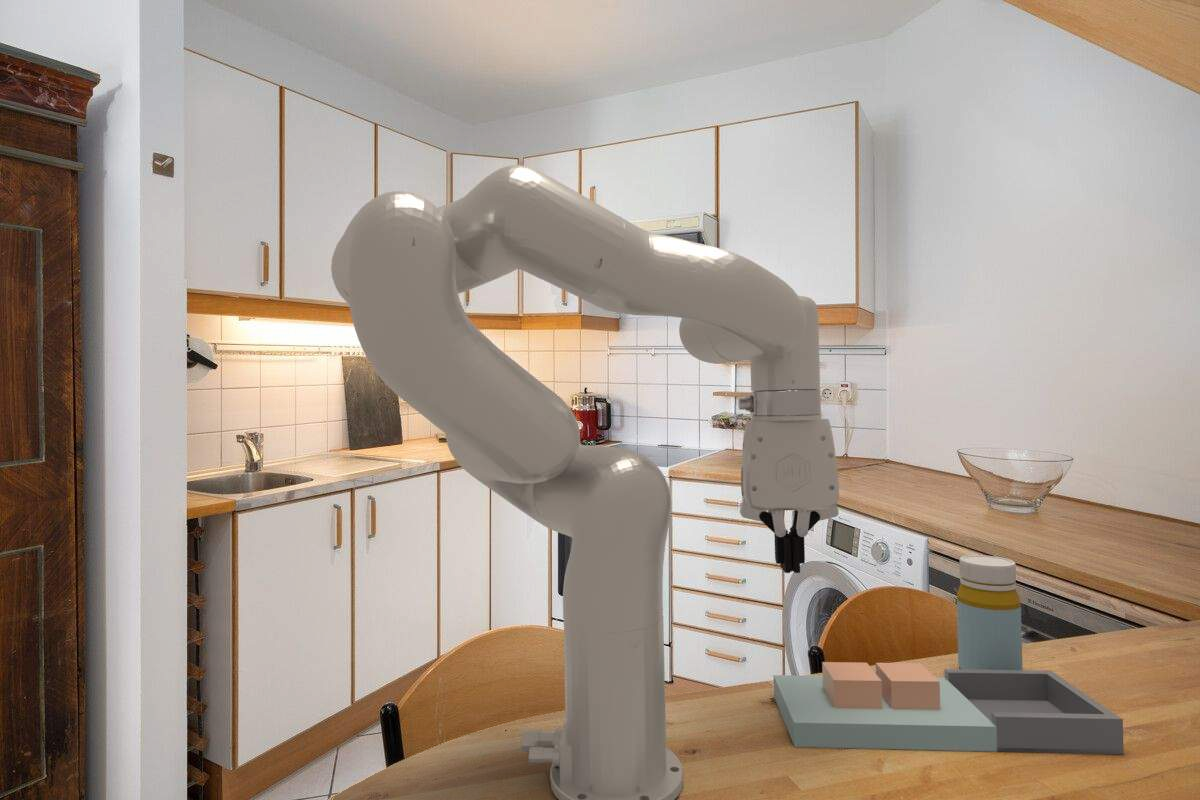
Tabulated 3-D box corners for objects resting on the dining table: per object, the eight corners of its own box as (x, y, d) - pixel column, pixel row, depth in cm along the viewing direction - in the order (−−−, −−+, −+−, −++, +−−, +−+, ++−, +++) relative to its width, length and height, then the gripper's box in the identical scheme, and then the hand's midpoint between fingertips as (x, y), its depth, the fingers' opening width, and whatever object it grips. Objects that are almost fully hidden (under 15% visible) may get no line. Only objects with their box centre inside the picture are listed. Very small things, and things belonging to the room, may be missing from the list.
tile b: (891, 709, 71) (891, 680, 71) (876, 688, 76) (875, 662, 76) (940, 709, 70) (939, 681, 70) (921, 689, 75) (920, 663, 75)
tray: (997, 751, 66) (996, 716, 66) (945, 698, 78) (944, 669, 78) (1123, 754, 65) (1122, 719, 65) (1051, 700, 77) (1050, 670, 77)
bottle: (1004, 668, 87) (1002, 554, 87) (1034, 691, 80) (1031, 567, 80) (949, 667, 88) (946, 554, 88) (973, 690, 81) (970, 567, 81)
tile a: (834, 707, 71) (833, 680, 71) (822, 688, 76) (822, 662, 76) (882, 708, 71) (881, 680, 71) (867, 688, 76) (866, 662, 76)
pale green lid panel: (794, 746, 68) (793, 722, 68) (773, 695, 80) (773, 675, 80) (997, 751, 66) (996, 726, 66) (945, 698, 78) (944, 677, 78)
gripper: (721, 409, 71) (726, 579, 71) (864, 405, 70) (869, 578, 70) (715, 408, 79) (719, 562, 79) (844, 405, 77) (848, 561, 77)
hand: (790, 569), depth 74 cm, fingers closed
